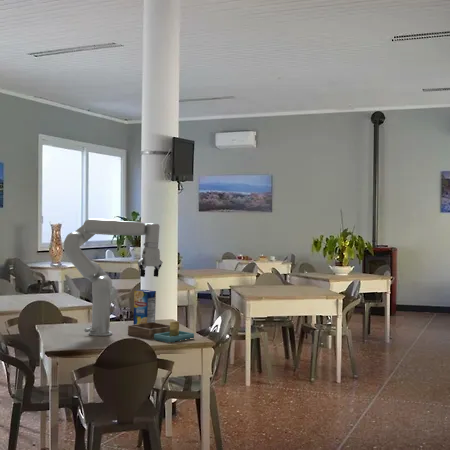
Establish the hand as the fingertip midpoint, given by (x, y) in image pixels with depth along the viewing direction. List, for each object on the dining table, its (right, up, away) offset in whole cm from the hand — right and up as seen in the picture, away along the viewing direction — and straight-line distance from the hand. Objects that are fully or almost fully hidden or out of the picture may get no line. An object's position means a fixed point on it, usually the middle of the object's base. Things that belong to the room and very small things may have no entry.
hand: (149, 276), depth 350 cm
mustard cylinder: (+15, -31, -11) cm, 36 cm away
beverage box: (-6, -32, +22) cm, 40 cm away
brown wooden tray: (+1, -32, +1) cm, 32 cm away
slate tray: (+15, -33, -11) cm, 37 cm away
